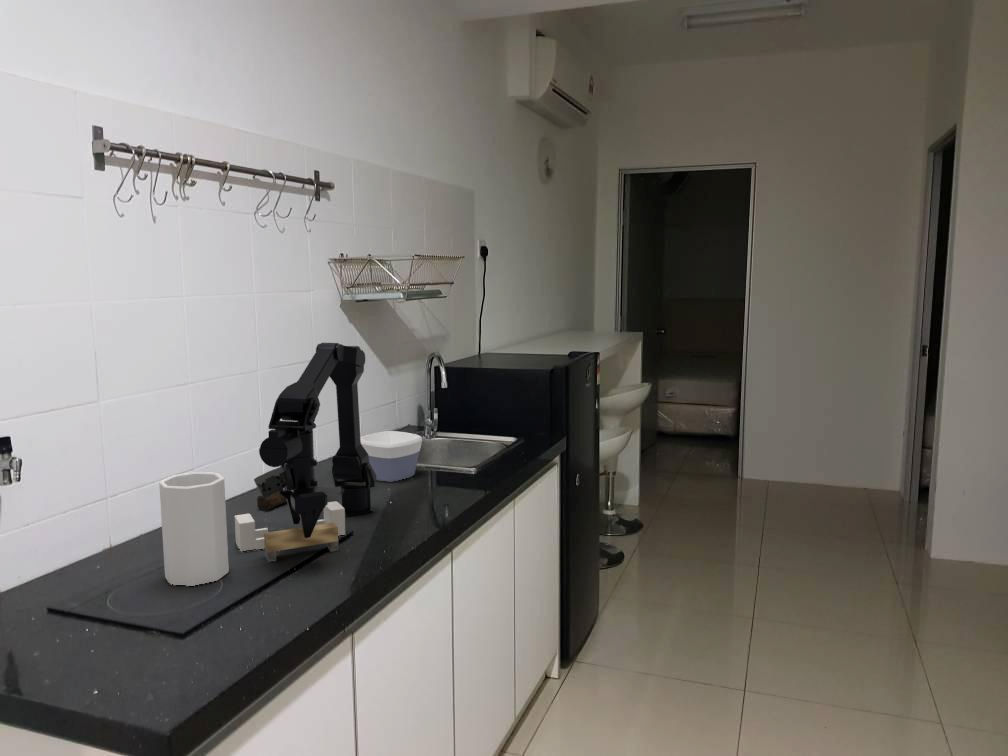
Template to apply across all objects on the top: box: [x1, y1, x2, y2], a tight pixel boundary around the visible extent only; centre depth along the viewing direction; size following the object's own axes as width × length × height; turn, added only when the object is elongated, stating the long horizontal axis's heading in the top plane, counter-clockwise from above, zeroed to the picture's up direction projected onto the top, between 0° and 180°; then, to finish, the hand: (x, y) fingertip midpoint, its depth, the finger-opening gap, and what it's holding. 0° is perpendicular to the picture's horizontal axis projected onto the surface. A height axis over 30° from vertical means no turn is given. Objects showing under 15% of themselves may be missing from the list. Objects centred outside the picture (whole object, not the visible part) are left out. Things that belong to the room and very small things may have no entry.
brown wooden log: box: [256, 486, 317, 512], centre depth 190 cm, size 19×4×5 cm, turn 150°
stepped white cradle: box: [234, 501, 346, 553], centre depth 163 cm, size 22×7×6 cm, turn 118°
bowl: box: [360, 430, 423, 483], centre depth 213 cm, size 15×15×11 cm
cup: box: [159, 471, 230, 587], centre depth 142 cm, size 11×11×18 cm
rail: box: [264, 523, 340, 562], centre depth 154 cm, size 14×3×5 cm, turn 118°
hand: (301, 530), depth 154 cm, fingers open, 9 cm apart
